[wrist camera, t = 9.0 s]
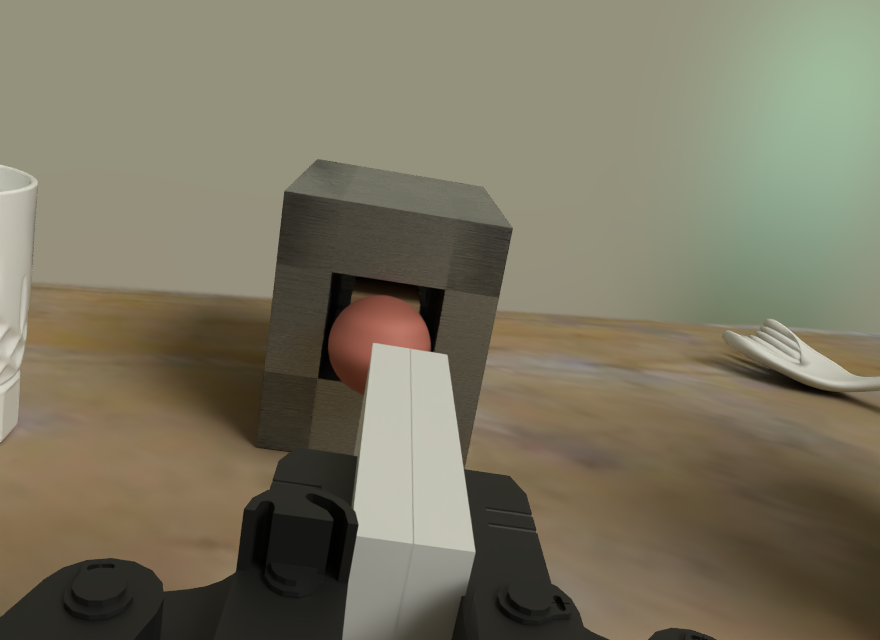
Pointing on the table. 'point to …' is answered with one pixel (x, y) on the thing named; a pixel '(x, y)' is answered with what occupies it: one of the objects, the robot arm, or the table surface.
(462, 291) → the block
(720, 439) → the table surface
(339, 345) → the plunger
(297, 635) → the robot arm
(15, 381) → the white cup
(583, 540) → the table surface
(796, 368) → the white plastic spork
